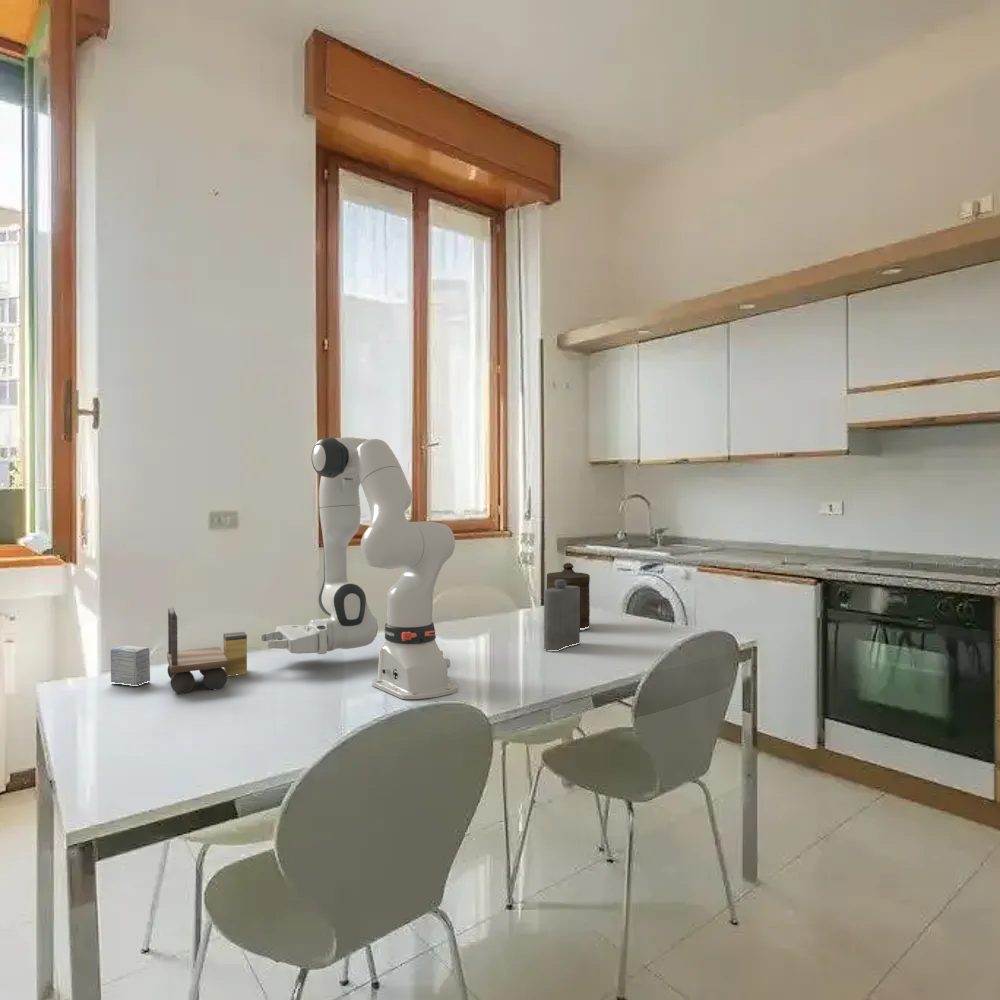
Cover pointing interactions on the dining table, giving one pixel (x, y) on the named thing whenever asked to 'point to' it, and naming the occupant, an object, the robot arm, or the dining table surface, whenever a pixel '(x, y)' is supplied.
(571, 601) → the flask
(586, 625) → the wooden container
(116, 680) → the grey wood-grain block
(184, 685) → the trolley
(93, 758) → the dining table surface
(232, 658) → the chock block
